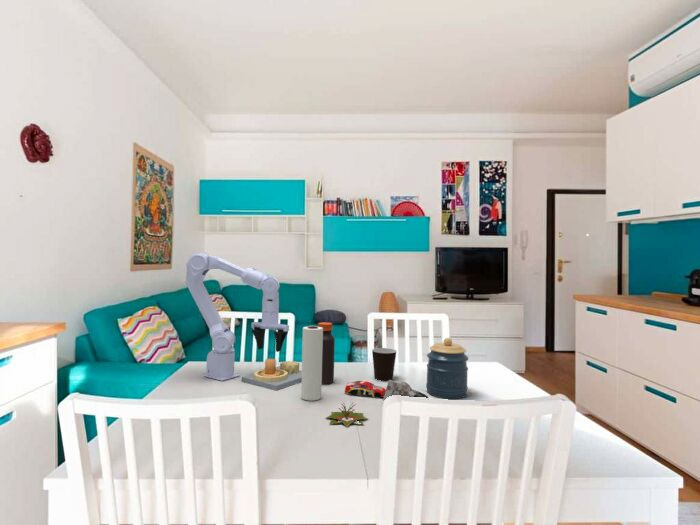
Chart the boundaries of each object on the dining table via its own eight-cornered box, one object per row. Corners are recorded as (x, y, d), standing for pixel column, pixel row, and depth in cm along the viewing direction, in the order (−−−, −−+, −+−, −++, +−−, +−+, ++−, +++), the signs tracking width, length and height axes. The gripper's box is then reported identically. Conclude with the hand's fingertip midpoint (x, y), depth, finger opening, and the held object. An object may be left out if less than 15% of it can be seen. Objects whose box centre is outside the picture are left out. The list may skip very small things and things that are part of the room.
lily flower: (325, 412, 118) (326, 395, 118) (369, 413, 118) (369, 396, 118) (322, 429, 106) (322, 410, 106) (370, 430, 106) (370, 412, 106)
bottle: (321, 386, 140) (323, 325, 140) (309, 381, 145) (311, 322, 145) (337, 382, 145) (339, 323, 145) (325, 378, 150) (326, 321, 150)
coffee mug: (388, 383, 145) (389, 354, 145) (366, 379, 150) (367, 350, 149) (403, 376, 155) (404, 348, 155) (382, 372, 159) (383, 345, 159)
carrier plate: (241, 381, 143) (241, 368, 143) (279, 370, 159) (280, 358, 159) (276, 390, 134) (276, 376, 134) (313, 377, 150) (313, 364, 150)
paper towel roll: (316, 402, 124) (317, 329, 124) (297, 399, 126) (299, 327, 126) (325, 395, 131) (327, 326, 131) (308, 392, 133) (309, 324, 133)
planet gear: (255, 377, 143) (255, 360, 142) (269, 373, 148) (269, 356, 148) (270, 381, 139) (271, 363, 139) (284, 377, 144) (285, 359, 144)
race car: (388, 395, 134) (388, 382, 134) (385, 400, 129) (385, 387, 129) (348, 390, 137) (348, 377, 137) (343, 395, 132) (343, 382, 132)
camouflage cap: (427, 411, 126) (419, 417, 117) (392, 397, 131) (382, 402, 122) (433, 389, 127) (425, 393, 118) (398, 376, 131) (388, 379, 122)
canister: (440, 384, 146) (442, 333, 145) (475, 393, 136) (476, 338, 136) (417, 392, 136) (419, 337, 136) (453, 402, 127) (454, 343, 127)
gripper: (246, 311, 149) (245, 349, 149) (281, 314, 143) (280, 354, 143) (258, 309, 155) (257, 346, 156) (292, 312, 149) (291, 350, 150)
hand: (269, 350), depth 150 cm, fingers open, 7 cm apart
